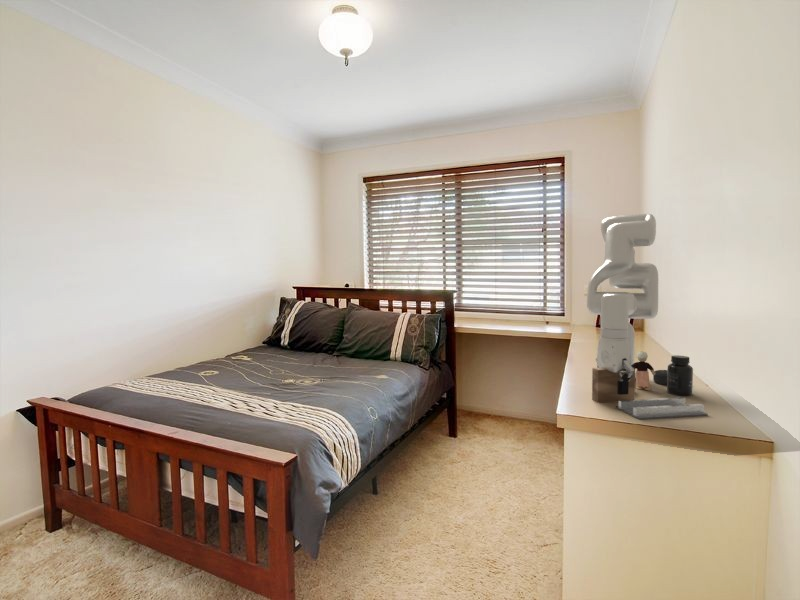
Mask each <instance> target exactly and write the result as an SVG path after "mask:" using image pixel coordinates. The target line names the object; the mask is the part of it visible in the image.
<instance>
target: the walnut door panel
mask: <svg viewBox="0 0 800 600" xmlns="http://www.w3.org/2000/svg"><path fill="white" fill-rule="evenodd" d="M633 369H634V373H633V375H632V377H631V378H630V381H629V391H628V394H623V395H619V394H617V382H618V381H619V378H618V376H617V373H612V372H609V371H608V369H605V368H598V367H592V370H591V371H592V381H591V387H592V388H591V389H592V390H591V391H592V392H591V400H592V401H594V402H596V403H598V402H599V403H612V402H613V403H614V402H617V403H618V402H619V401H622V400H636V399H635V397H636V395H635V393H636V392H635V391H636V390H635V389H636V379H635V372H636V369H635V368H633ZM620 371H622V370H620ZM621 375H622V376H623V375H624V374H621Z"/></svg>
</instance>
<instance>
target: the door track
mask: <svg viewBox="0 0 800 600" xmlns="http://www.w3.org/2000/svg"><path fill="white" fill-rule="evenodd" d="M686 399H687V398H686V397H684V396H683V397H682V396H680V397H660V398H647V399H646V398H642V399H635V400H622V401H618V405H615V409H618V410H619V411H621V412H624V413H626V414H627V415H629V416H632V417H633V418H635V419H637V420H640V421H641V420H643V421H644V420H658V419H675V418H690V417H706V416H708V413H706V412H704V410H705V409H704V407H705V405H704V404H702V403H692V404H691V403H689V404H686Z"/></svg>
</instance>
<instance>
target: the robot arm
mask: <svg viewBox="0 0 800 600" xmlns="http://www.w3.org/2000/svg"><path fill="white" fill-rule="evenodd" d="M600 232H601V235H602V238H603V240H604V257H603V258H604V262H603V264H602V265H601V266H600V267H599V268H598V269H597V270H596V271H595V272H594V273H593V274H592V275H591V278H590V279H589V281H588V285H587V294H586V308H587V311H588V312H589V313H590V314H592V315H599V316H600V331H599V332H600V336H599V338H598V342H597V350H596V351H597V352H596V358H595V362H596V366H597V367H596V368H605V369H608V371H609V372H612V373H617V376H618V378H619V381H618V382H617V394H619V395H623V394H628V391H629V381H630V378H631V377H632V375H633V373H634V369H633V368H632V366H631V365H632V364H634V363H635V355H636V354H635V348H636V347H635V344H636V343H635V339H636V332H635V329H634V328H635V327H634V326H633V324H631V323H630V322H629V319H637V320H638V319H641V320H651V319H654V318H656V316H657V315H658V313H659V270H658V267H657V266H656V265H655V264H653V263H650V262H649V263H647V262H642V263H641V262H640V263H639V262H638V263H636V260H635V257H636V251H635V248H634V247H650V246H651V245H653V244H654V242H655V239H656V236H657V235H656V234H657V222H656V218H655V216H654V214H651V213H640V214H627V215H626V214H625V215H624V214H623V215H616V216H615V215H614V216H609V217H606V218H604V219H602V220H601V222H600ZM606 280H608V282H609V286H610V287H611V288H613V289H617V290H618V289H619V290H642V291H643V292H627V291H598V289H599V286H600V284H602V283H603V282H605V281H606ZM620 370H622V371H620ZM621 374H624V375H623V376H622V375H621ZM635 380H636V371H635Z"/></svg>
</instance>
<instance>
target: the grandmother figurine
mask: <svg viewBox="0 0 800 600" xmlns="http://www.w3.org/2000/svg"><path fill="white" fill-rule="evenodd" d="M635 355H636V356H635V357H636V358H637V360H638V361H636V362H634V364H632V365H631V366H632V368H635V372H636V379H635V389H636V390H646V391H651V390H652V387H650V373H649V371H650V372H651V374H652V376H653V375H655V374H656V373H655V371H656V370H655V369H654V367H653V366H652V365H651V364H650V363H649V362H648V361H647V359H648V355H649V354H648V353H647V352H646V351H639V352H637V354H635ZM646 361H647V362H646Z"/></svg>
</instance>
